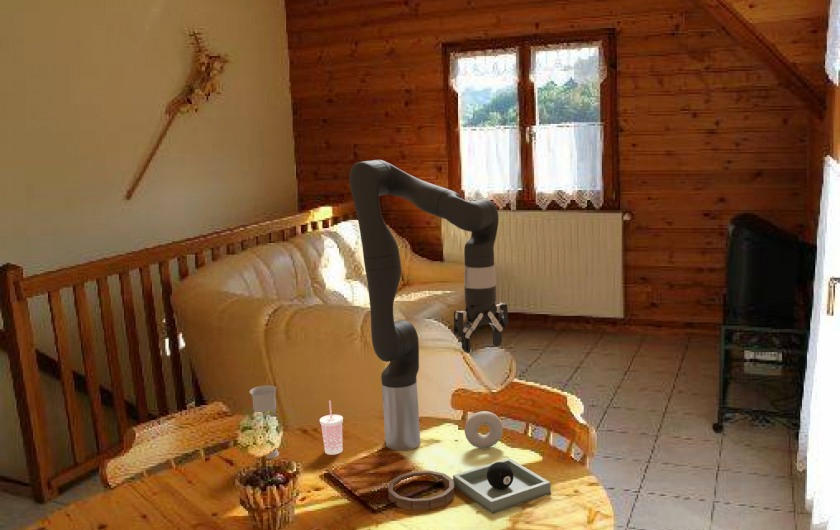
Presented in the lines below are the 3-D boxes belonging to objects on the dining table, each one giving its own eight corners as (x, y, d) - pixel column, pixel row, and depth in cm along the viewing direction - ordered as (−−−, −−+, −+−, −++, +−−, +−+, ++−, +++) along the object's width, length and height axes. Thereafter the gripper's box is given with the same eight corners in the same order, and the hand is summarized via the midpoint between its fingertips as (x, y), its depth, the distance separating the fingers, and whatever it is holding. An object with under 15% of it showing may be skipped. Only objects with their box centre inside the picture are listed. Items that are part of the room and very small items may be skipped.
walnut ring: (378, 490, 190) (377, 481, 190) (433, 473, 197) (433, 465, 197) (408, 516, 177) (407, 507, 177) (466, 497, 184) (466, 488, 184)
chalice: (276, 461, 210) (270, 395, 206) (251, 460, 211) (245, 394, 208) (286, 449, 217) (280, 385, 213) (262, 448, 218) (256, 384, 215)
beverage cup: (350, 448, 215) (346, 398, 212) (335, 457, 210) (331, 406, 207) (332, 444, 218) (328, 395, 216) (317, 453, 213) (313, 402, 211)
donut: (466, 452, 208) (464, 415, 206) (464, 447, 212) (462, 410, 210) (504, 448, 209) (503, 412, 207) (502, 443, 213) (500, 407, 211)
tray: (453, 486, 190) (452, 475, 189) (509, 468, 197) (509, 458, 197) (491, 513, 176) (491, 501, 176) (550, 493, 184) (550, 482, 183)
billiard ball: (496, 496, 183) (495, 471, 182) (482, 486, 188) (481, 461, 187) (518, 489, 185) (517, 464, 184) (504, 479, 191) (503, 455, 189)
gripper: (496, 276, 200) (497, 340, 203) (446, 285, 193) (448, 350, 196) (513, 282, 193) (515, 347, 197) (462, 290, 187) (465, 358, 190)
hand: (482, 348), depth 196 cm, fingers open, 8 cm apart
